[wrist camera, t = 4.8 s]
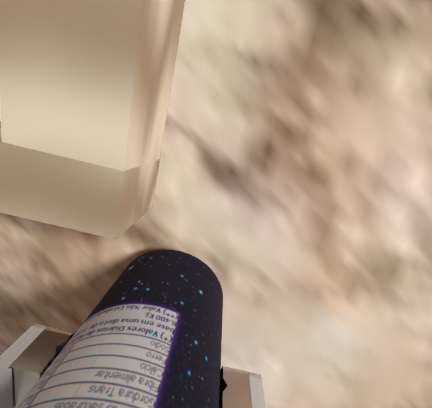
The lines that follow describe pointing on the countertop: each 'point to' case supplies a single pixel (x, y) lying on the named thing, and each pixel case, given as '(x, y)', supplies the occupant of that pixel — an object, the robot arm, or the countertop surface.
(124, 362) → the beverage can
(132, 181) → the socket board
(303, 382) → the countertop surface
